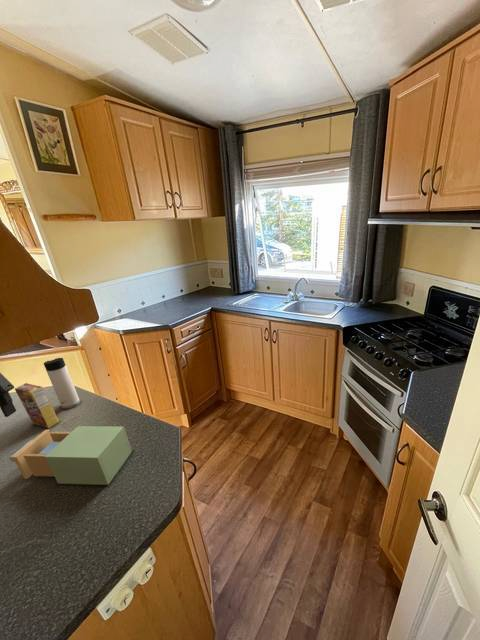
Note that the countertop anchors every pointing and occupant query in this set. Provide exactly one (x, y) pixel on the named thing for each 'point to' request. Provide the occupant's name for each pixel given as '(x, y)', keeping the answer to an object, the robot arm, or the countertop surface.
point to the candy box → (37, 405)
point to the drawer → (36, 454)
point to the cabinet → (89, 455)
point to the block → (49, 448)
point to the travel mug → (62, 383)
